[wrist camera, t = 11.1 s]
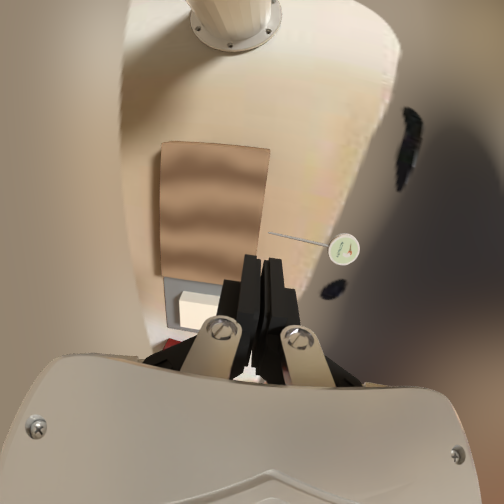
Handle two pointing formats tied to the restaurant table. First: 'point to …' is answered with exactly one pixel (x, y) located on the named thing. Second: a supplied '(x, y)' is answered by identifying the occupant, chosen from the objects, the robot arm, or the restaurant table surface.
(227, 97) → the restaurant table surface
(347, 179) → the restaurant table surface
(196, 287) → the mat
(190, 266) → the board
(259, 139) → the restaurant table surface
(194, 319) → the cream rectangular block
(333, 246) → the sign
